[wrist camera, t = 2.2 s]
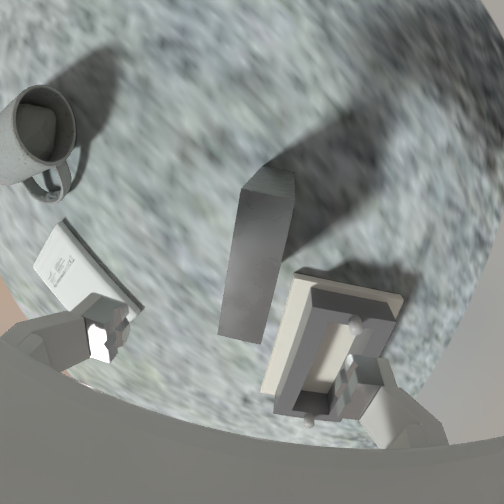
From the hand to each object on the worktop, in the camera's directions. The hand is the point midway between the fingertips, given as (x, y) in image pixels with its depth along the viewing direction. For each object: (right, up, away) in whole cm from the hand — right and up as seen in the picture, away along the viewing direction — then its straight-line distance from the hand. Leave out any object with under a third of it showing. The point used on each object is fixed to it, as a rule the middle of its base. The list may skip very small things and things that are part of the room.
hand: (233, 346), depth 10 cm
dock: (+8, -6, +17) cm, 20 cm away
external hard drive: (-17, 0, +19) cm, 26 cm away
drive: (+2, +6, +13) cm, 15 cm away
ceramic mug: (-19, +14, +13) cm, 27 cm away
